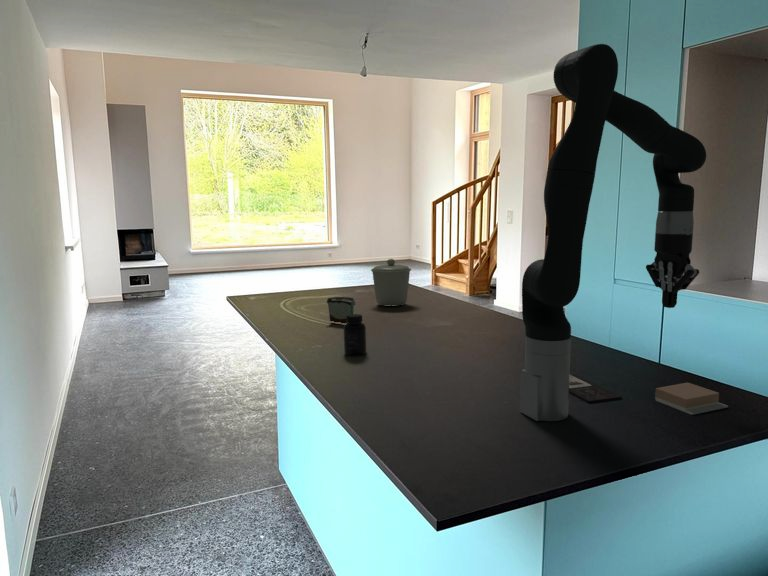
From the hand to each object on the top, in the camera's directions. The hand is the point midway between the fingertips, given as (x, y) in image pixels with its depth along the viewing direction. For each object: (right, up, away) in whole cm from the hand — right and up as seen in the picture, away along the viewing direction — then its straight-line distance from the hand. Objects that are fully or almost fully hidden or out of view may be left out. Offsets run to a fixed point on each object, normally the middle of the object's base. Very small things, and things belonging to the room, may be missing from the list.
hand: (669, 307), depth 127 cm
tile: (+1, -19, +1) cm, 19 cm away
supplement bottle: (-74, -16, +43) cm, 88 cm away
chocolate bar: (-18, -21, +8) cm, 28 cm away
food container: (-81, -10, +87) cm, 119 cm away
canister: (-62, -4, +123) cm, 138 cm away
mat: (+3, -22, -4) cm, 22 cm away
